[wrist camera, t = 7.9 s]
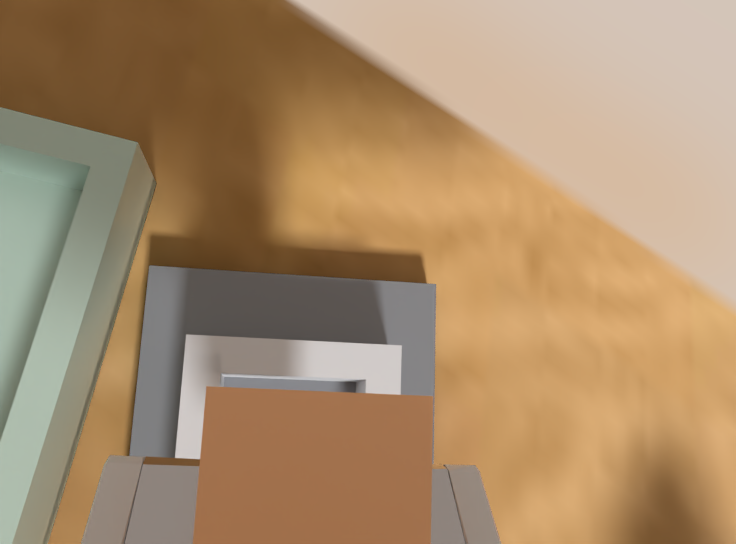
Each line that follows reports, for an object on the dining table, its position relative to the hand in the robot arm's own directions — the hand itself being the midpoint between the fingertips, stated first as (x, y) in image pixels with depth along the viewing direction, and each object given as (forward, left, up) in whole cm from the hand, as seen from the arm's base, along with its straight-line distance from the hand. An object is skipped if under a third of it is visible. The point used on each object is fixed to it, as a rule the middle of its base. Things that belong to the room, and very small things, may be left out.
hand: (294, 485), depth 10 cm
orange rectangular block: (0, -1, -5) cm, 5 cm away
